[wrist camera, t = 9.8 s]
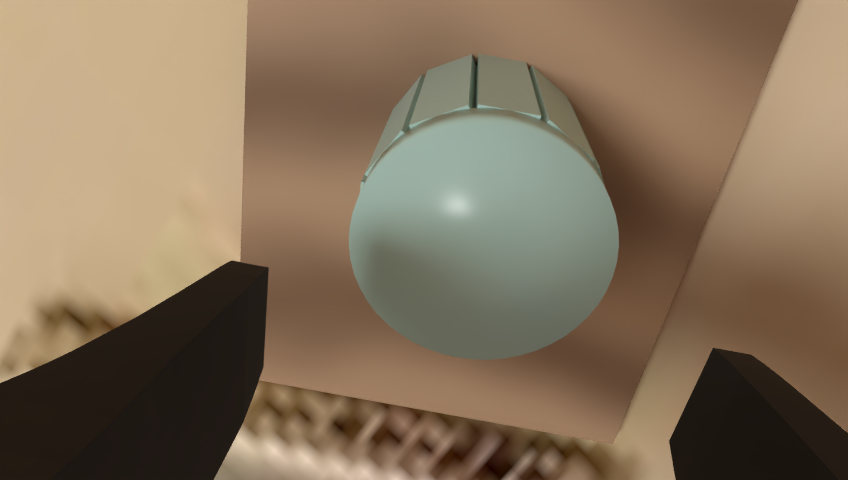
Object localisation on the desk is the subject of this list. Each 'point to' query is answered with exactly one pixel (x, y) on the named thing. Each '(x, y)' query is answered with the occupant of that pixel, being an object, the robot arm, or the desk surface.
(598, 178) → the cap
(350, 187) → the walnut board
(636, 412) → the desk surface
